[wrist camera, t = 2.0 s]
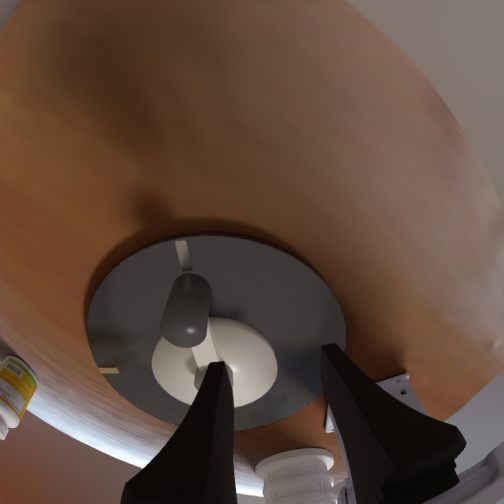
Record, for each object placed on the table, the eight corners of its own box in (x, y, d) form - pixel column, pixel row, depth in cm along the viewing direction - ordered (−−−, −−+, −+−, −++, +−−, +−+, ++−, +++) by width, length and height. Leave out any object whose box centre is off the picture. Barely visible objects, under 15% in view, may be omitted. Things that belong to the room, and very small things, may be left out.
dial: (279, 393, 24) (287, 433, 20) (174, 403, 24) (169, 442, 20) (263, 259, 19) (273, 297, 15) (120, 280, 19) (96, 318, 14)
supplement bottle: (21, 385, 25) (-6, 439, 16) (-2, 354, 23) (-36, 407, 14) (46, 387, 25) (18, 448, 16) (21, 353, 23) (-16, 414, 14)
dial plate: (345, 210, 19) (351, 214, 18) (335, 406, 28) (337, 414, 27) (53, 257, 19) (46, 263, 18) (144, 426, 28) (142, 433, 27)
